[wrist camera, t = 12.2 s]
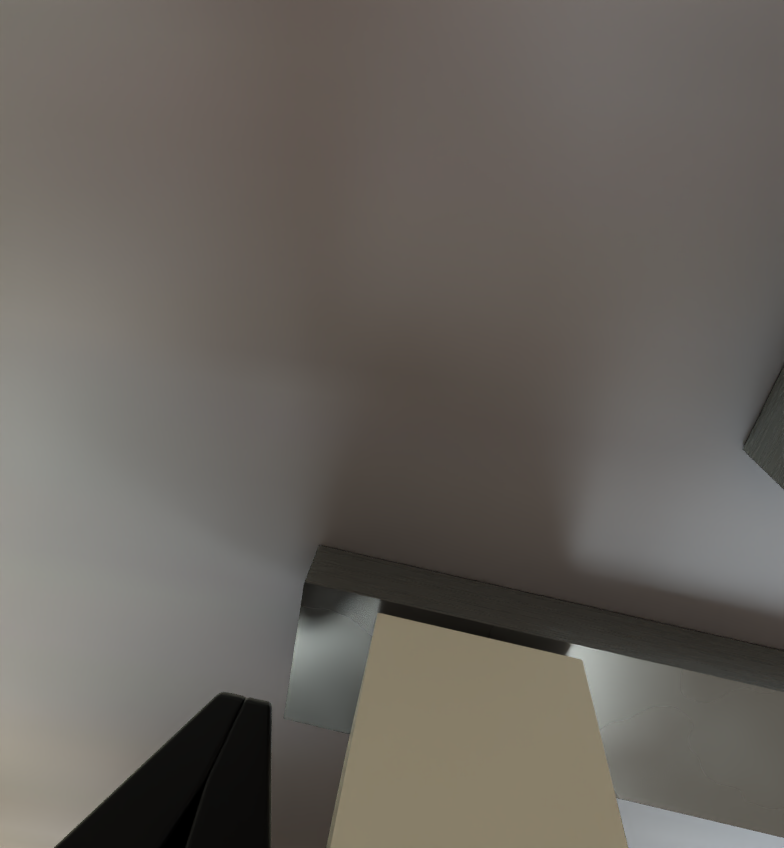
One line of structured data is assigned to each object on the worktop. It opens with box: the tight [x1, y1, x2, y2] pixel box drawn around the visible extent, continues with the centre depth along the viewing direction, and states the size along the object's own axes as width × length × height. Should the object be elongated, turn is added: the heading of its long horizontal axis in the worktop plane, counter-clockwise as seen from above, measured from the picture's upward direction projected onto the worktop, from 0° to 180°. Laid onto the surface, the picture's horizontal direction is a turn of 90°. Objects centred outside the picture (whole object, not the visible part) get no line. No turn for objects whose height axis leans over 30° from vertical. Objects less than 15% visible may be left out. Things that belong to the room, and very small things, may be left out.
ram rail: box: [284, 545, 784, 838], centre depth 9 cm, size 3×14×3 cm, turn 79°
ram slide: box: [326, 613, 628, 848], centre depth 8 cm, size 3×3×4 cm
